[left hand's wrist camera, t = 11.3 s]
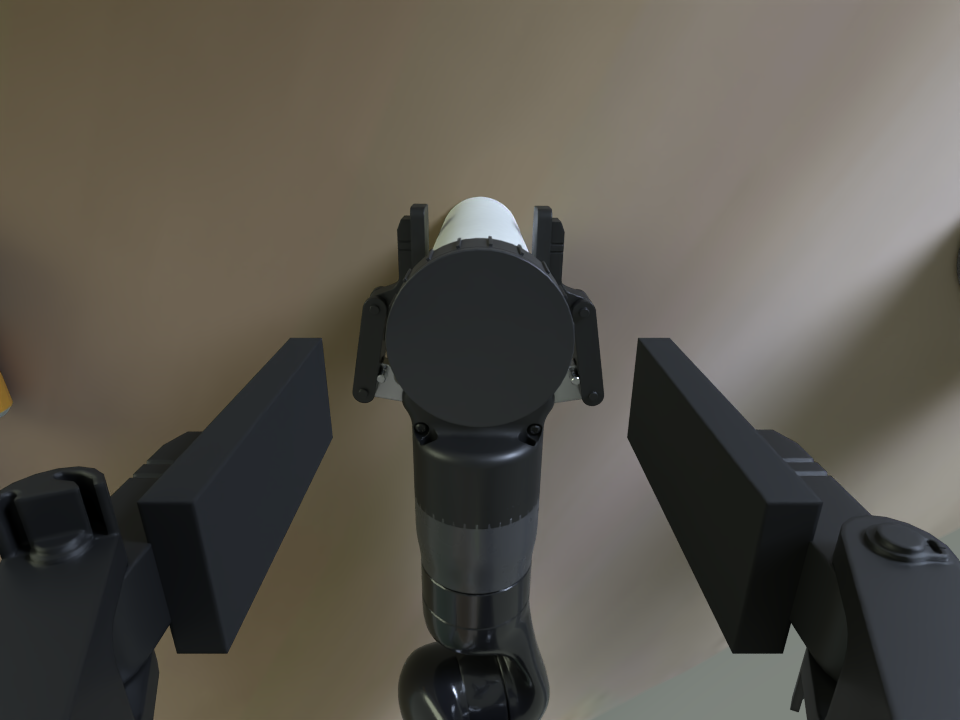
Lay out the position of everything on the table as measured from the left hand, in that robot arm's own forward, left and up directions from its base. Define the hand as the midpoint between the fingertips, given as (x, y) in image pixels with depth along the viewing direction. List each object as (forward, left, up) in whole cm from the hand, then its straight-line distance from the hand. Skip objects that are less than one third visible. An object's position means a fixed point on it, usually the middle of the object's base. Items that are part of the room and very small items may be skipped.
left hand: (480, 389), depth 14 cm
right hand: (0, -2, -16) cm, 16 cm away
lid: (0, 0, -4) cm, 4 cm away
